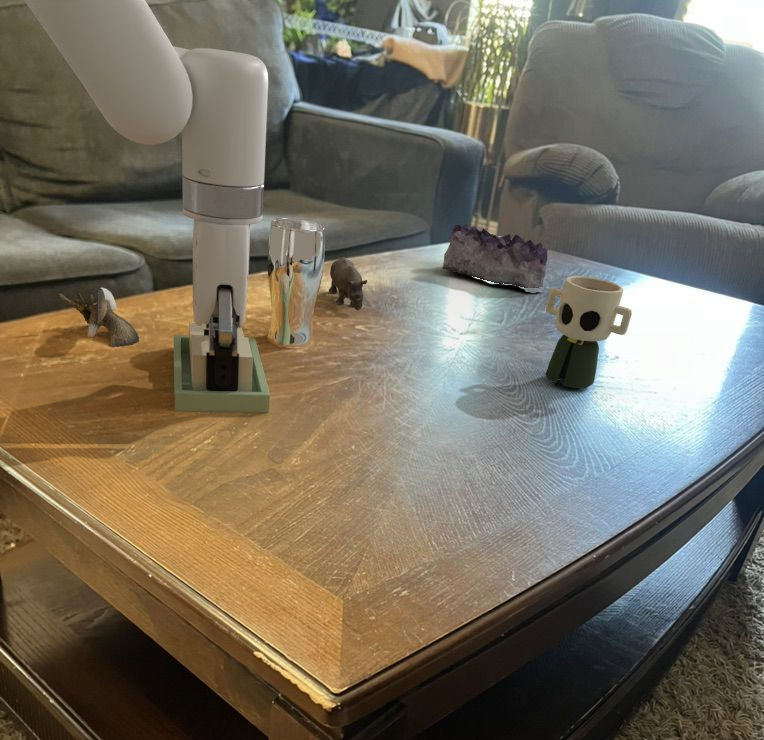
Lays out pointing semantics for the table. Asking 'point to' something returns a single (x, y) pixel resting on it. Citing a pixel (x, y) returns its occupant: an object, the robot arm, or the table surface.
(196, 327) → the beige block
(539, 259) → the geode
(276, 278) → the beer glass
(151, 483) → the table surface
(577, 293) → the character mug
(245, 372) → the light grey rectangular block
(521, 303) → the table surface
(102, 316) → the deer head bust
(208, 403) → the frame tray
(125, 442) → the table surface
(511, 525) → the table surface
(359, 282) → the rhino figurine
